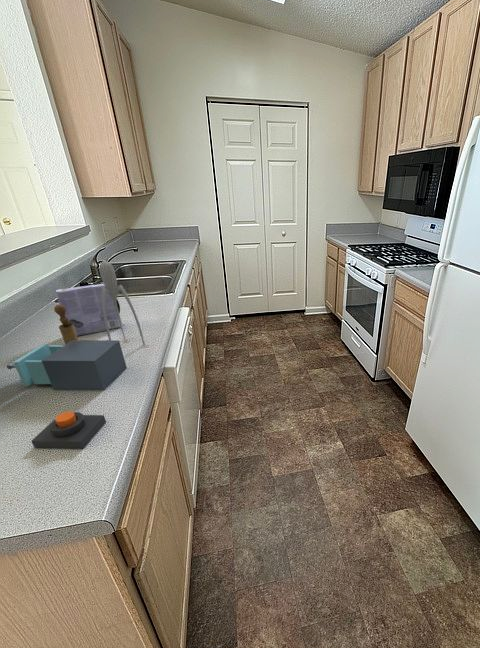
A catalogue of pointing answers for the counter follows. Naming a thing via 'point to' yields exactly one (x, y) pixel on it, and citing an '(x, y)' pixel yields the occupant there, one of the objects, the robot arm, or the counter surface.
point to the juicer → (113, 294)
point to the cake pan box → (88, 308)
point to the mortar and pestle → (65, 325)
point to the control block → (70, 433)
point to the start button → (65, 419)
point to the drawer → (34, 365)
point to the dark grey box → (85, 365)
